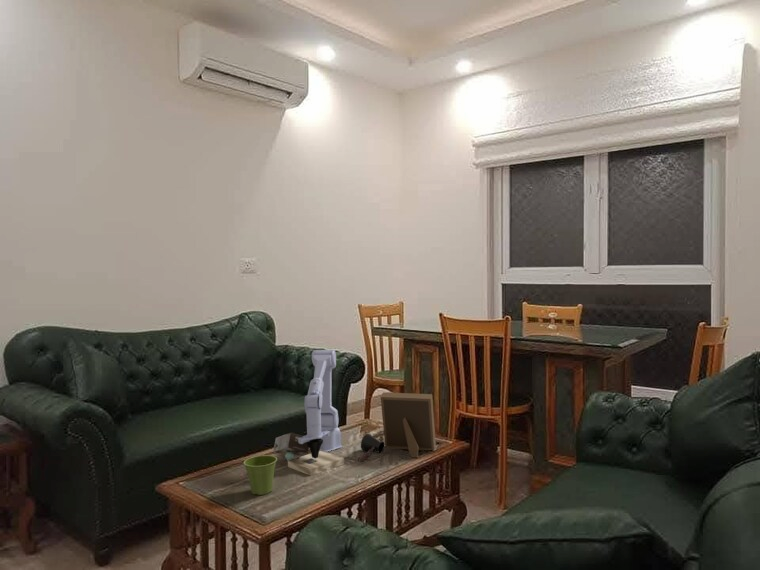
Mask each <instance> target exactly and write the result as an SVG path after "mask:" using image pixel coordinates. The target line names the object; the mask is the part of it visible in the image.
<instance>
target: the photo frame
mask: <svg viewBox="0 0 760 570" xmlns="http://www.w3.org/2000/svg"><path fill="white" fill-rule="evenodd" d="M380 405H381V416H382V425H383V437H384V449H395V450H408V453H409V457H412V456H414V457H413V458H415V457H418V458H419V451H424V450H434V449H435V450H436V447H437V445H436V444H437V443H436V442H437V441H436V440H437V439H436V429H435V428H436V427H435V417H434V416H435V414H434V400H433V394H432V393H412V392H411V393H407V392H384V391H383V392H382V394H381V396H380ZM435 450H434V451H435Z"/></svg>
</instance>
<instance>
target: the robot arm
mask: <svg viewBox="0 0 760 570" xmlns="http://www.w3.org/2000/svg"><path fill="white" fill-rule="evenodd" d="M336 353H337V352H336V350H335V349H331V350H330V349H329V350H328V349H323V350H321V349H318V350H316V349H313V350H312V352H311V362H312V365H313V367H314V371H313V379H311V380H310V383H309V388H308V391H307V395H305V396H304V400H303V403H304V404H303V405H304V409H305V414H306V435H303V437H301V438H298V443H299V444H303V443H305V442H306V443H307V445H308V446H309V451H310V454H312V458H318V454H319V451H324V452H327V453H329V452H332V451H335V450H337V449H342V448H343V446H342V438H341V437H342V433H341V429H340V428H339V427H338V426H339V420H340V419H339V411H338V409H336V408H335V407H333V406H332V405H333V404H332V403H333V402H332V389H333V388H332V385H333V384H332V381H333V380H332V374H333V373H332V372H333V370H334V369H335V368H336V366H337V354H336ZM331 450H332V451H331ZM328 451H329V452H328Z"/></svg>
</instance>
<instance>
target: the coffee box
mask: <svg viewBox="0 0 760 570" xmlns="http://www.w3.org/2000/svg"><path fill="white" fill-rule="evenodd" d="M303 436H304V435H301V434H299V433H295V432H289V433H286V434H283V435H281V436H278V437H277V436H276V437H275V441H274V445H273V450H272V452H273V453H275V454H279V455H283V456H285V455H286V453H287V452H289V451H290V452H292V453H293V454H294V457H297V456H301V455H306V454H309V451H310V449H309V446H308V445H307V443H306V442H305V443H303V444H299V443H298V438H301V437H303Z"/></svg>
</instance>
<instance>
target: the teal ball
mask: <svg viewBox="0 0 760 570" xmlns="http://www.w3.org/2000/svg"><path fill="white" fill-rule="evenodd" d="M284 456H285V459H286V460H287V461H288V460H292V459H294V457H295V456H294V454H293V453H292V452H290V451H289V452H287V453H286V455H284Z"/></svg>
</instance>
